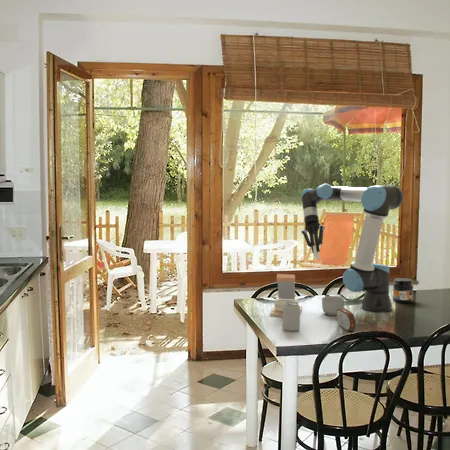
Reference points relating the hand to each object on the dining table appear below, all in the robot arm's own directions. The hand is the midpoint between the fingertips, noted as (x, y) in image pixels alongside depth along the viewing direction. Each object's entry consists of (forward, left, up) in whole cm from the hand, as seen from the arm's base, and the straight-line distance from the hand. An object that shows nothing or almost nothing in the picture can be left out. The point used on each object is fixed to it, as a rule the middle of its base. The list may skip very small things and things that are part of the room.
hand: (316, 258), depth 290 cm
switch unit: (-3, +25, -25) cm, 35 cm away
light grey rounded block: (-18, +8, -25) cm, 32 cm away
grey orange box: (-3, +25, -18) cm, 31 cm away
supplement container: (-23, -44, -25) cm, 56 cm away
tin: (-40, +25, -25) cm, 53 cm away
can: (-27, +46, -25) cm, 59 cm away
